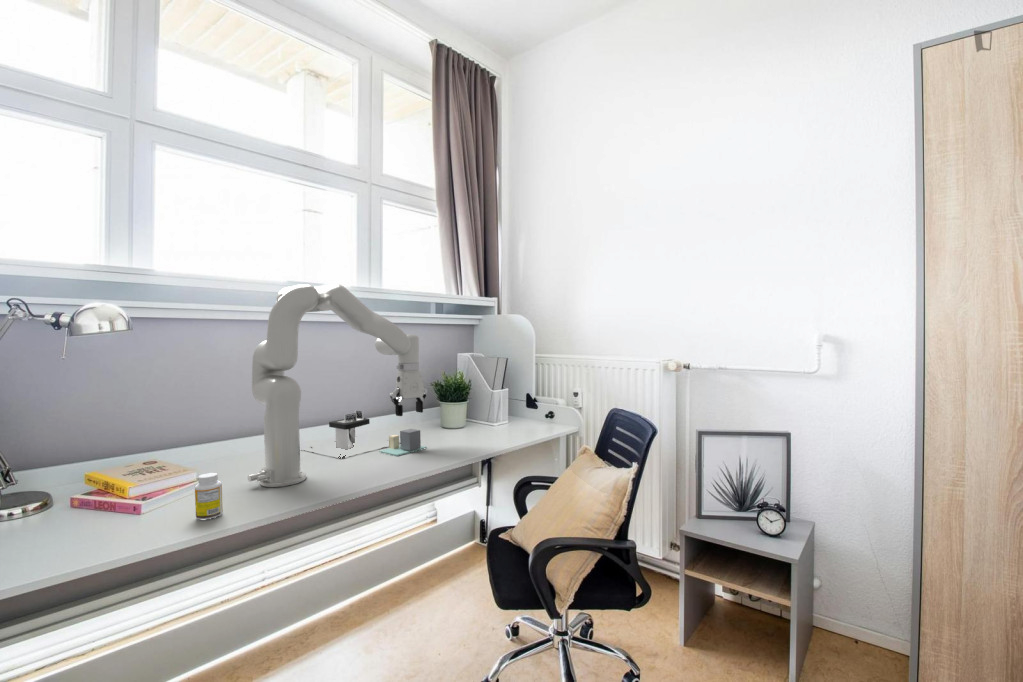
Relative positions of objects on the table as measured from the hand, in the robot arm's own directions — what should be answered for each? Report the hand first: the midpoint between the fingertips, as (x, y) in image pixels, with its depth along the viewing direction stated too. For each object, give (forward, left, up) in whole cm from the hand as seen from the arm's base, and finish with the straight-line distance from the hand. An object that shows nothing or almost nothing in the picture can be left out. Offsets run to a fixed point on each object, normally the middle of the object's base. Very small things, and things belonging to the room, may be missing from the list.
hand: (409, 413), depth 179 cm
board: (-1, +3, -14) cm, 14 cm away
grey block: (0, 0, -13) cm, 13 cm away
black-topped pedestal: (-8, +25, -14) cm, 30 cm away
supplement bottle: (-71, -9, -14) cm, 73 cm away
